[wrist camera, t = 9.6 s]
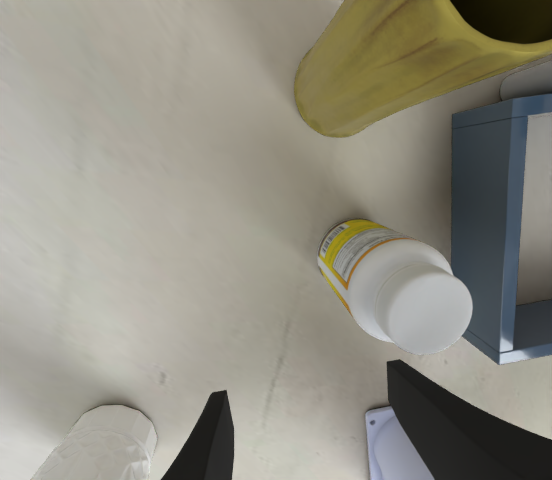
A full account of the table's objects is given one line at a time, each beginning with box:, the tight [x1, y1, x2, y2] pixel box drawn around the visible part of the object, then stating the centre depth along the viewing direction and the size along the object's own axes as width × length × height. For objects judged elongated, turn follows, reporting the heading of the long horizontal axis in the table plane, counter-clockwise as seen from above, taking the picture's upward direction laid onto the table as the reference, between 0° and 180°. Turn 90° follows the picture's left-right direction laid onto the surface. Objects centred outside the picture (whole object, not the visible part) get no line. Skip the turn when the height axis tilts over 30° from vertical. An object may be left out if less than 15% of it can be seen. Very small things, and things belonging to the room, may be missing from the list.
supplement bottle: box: [317, 218, 473, 355], centre depth 18 cm, size 6×6×10 cm
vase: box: [294, 0, 552, 137], centre depth 13 cm, size 6×6×14 cm
